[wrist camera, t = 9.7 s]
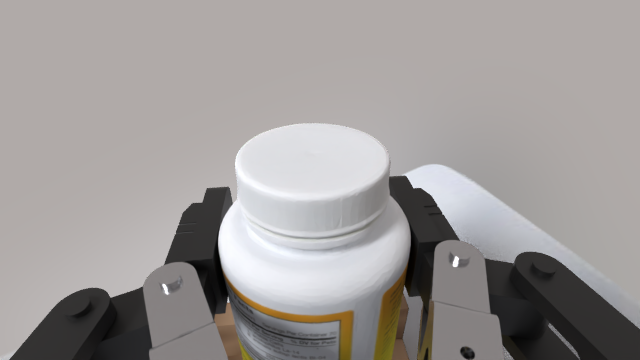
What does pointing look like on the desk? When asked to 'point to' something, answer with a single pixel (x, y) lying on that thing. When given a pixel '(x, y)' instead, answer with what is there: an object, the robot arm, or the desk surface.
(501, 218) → the desk surface
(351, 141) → the supplement bottle
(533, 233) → the desk surface
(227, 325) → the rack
